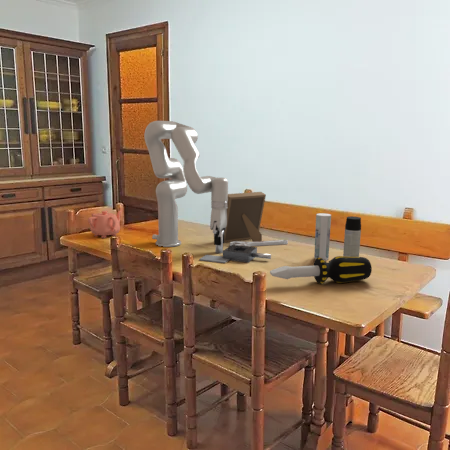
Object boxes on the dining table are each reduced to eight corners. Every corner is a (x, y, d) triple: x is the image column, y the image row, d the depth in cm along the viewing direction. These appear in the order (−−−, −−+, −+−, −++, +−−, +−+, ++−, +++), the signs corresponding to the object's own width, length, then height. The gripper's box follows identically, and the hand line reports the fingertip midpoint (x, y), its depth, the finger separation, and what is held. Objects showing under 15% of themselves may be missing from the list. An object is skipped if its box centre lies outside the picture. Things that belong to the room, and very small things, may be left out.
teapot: (92, 232, 257) (91, 208, 254) (123, 232, 259) (123, 208, 256) (87, 239, 241) (86, 213, 239) (121, 238, 243) (120, 213, 241)
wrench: (290, 241, 233) (233, 245, 224) (290, 245, 233) (233, 249, 224) (284, 238, 240) (228, 241, 232) (284, 241, 241) (228, 245, 232)
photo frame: (218, 241, 240) (219, 192, 235) (253, 236, 252) (254, 190, 246) (234, 247, 228) (235, 196, 223) (269, 242, 239) (272, 194, 234)
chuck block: (222, 259, 206) (222, 250, 205) (231, 253, 217) (232, 244, 216) (266, 264, 199) (266, 255, 198) (273, 257, 210) (274, 249, 209)
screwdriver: (275, 291, 166) (276, 264, 164) (266, 282, 176) (267, 256, 174) (374, 284, 175) (376, 258, 173) (360, 276, 185) (362, 251, 182)
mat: (199, 260, 204) (199, 259, 204) (206, 255, 212) (206, 254, 212) (225, 263, 200) (225, 262, 200) (231, 258, 208) (231, 257, 208)
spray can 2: (313, 256, 213) (315, 213, 209) (327, 256, 213) (329, 213, 209) (314, 260, 207) (317, 215, 203) (329, 260, 206) (332, 216, 202)
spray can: (359, 261, 205) (362, 216, 201) (358, 265, 199) (361, 219, 195) (343, 260, 207) (346, 215, 203) (342, 264, 201) (344, 218, 197)
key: (211, 252, 218) (211, 227, 215) (214, 251, 221) (214, 226, 218) (223, 253, 216) (224, 228, 213) (226, 252, 219) (226, 227, 216)
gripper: (218, 201, 223) (218, 239, 226) (204, 207, 207) (204, 247, 211) (233, 202, 220) (232, 240, 224) (220, 208, 205) (220, 248, 208)
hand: (219, 243), depth 217 cm, fingers open, 3 cm apart
